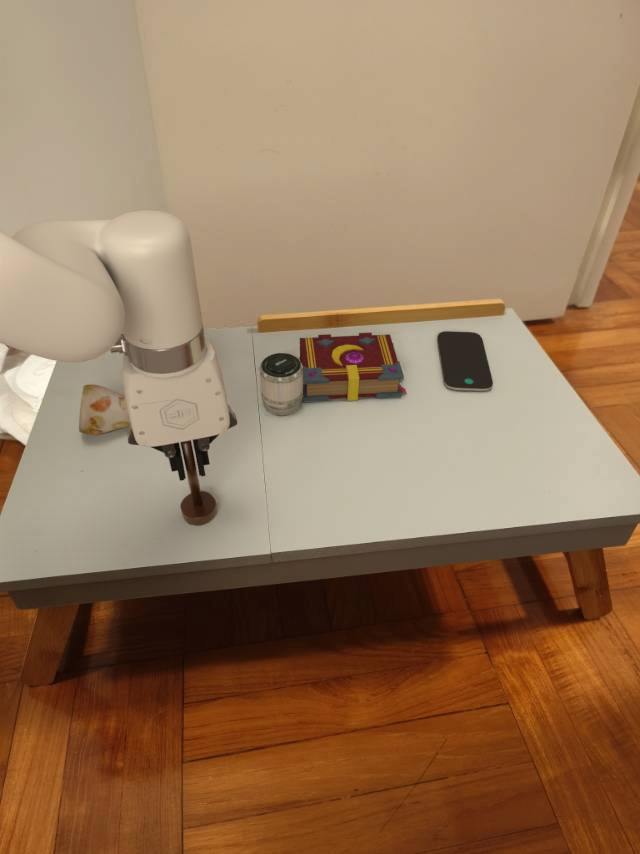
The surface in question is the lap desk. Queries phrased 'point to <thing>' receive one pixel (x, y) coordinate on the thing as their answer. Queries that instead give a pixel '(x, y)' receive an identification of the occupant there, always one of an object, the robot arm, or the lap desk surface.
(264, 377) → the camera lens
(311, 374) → the decorative book
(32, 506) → the lap desk surface
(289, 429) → the lap desk surface
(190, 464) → the round knob peg
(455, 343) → the smartphone
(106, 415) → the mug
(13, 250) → the robot arm
